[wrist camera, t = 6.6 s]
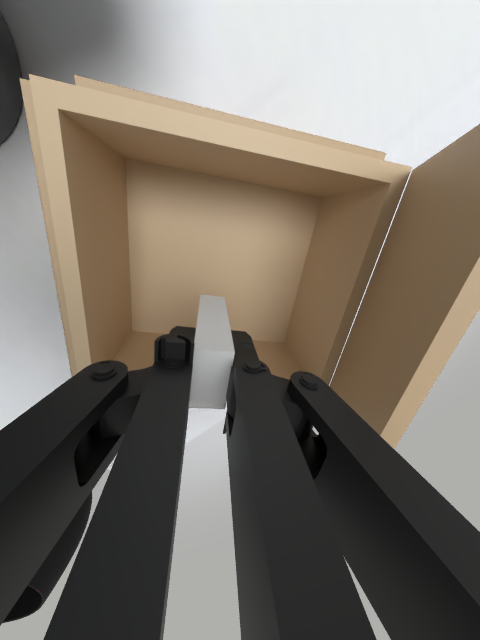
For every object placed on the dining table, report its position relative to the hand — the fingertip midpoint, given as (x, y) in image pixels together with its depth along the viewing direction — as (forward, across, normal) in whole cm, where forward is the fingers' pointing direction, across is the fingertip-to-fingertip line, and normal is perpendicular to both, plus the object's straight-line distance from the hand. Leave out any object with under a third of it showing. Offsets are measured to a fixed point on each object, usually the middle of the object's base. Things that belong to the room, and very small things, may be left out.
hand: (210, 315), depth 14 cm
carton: (+16, +1, 0) cm, 16 cm away
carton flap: (-1, +11, 0) cm, 11 cm away
